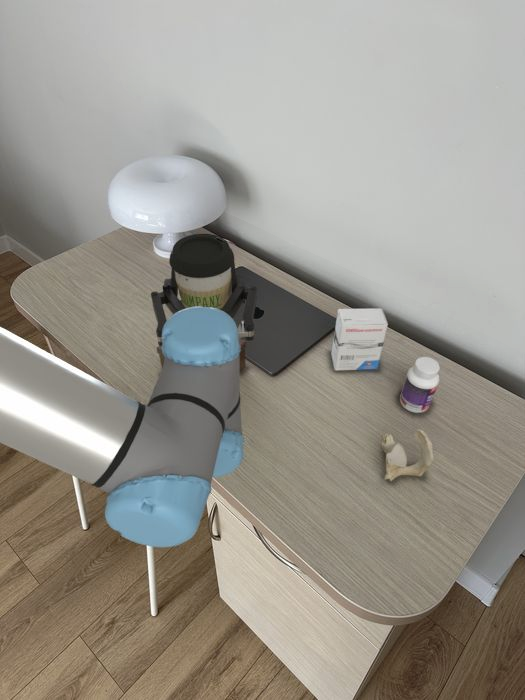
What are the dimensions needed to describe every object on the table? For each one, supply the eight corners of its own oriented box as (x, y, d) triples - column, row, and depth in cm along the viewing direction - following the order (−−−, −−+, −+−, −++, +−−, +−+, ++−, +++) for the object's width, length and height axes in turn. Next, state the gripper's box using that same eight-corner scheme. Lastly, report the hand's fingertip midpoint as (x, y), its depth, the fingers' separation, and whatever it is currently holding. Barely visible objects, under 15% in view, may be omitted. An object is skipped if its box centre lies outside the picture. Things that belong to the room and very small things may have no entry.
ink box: (372, 352, 98) (383, 306, 90) (377, 370, 95) (389, 324, 87) (330, 353, 98) (337, 307, 90) (334, 371, 94) (341, 325, 86)
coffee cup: (166, 323, 83) (154, 247, 73) (211, 299, 88) (205, 224, 78) (203, 352, 78) (195, 275, 68) (248, 325, 83) (247, 249, 73)
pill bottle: (428, 417, 87) (442, 379, 80) (397, 409, 88) (409, 371, 81) (430, 395, 90) (445, 357, 84) (401, 388, 91) (413, 350, 85)
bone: (357, 463, 78) (390, 413, 74) (373, 453, 83) (404, 407, 79) (402, 500, 74) (439, 449, 70) (416, 488, 79) (450, 440, 75)
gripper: (129, 390, 66) (141, 290, 82) (286, 379, 68) (267, 283, 84) (119, 350, 61) (133, 251, 77) (289, 339, 63) (268, 245, 79)
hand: (203, 268), depth 81 cm, fingers closed on coffee cup, 9 cm apart
